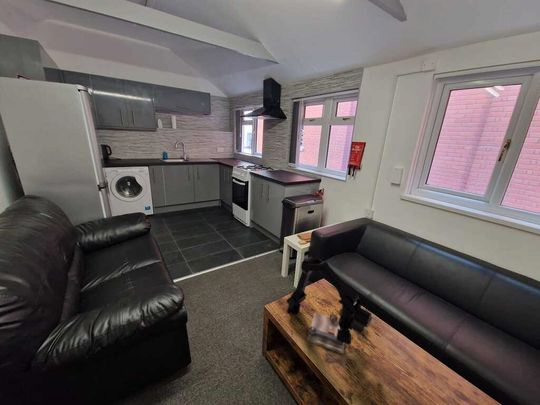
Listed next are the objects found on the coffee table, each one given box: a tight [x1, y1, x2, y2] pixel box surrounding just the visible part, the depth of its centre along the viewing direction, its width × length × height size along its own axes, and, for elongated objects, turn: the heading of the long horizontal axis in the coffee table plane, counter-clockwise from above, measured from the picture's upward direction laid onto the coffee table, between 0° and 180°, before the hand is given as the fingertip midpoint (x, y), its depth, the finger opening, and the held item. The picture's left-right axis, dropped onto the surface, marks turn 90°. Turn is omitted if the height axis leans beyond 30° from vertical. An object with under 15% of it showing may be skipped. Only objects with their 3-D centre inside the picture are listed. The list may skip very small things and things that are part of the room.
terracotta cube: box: [328, 329, 335, 336], centre depth 116 cm, size 3×2×2 cm, turn 68°
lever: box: [308, 326, 345, 345], centre depth 113 cm, size 18×4×8 cm, turn 68°
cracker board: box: [307, 312, 345, 355], centre depth 119 cm, size 18×19×5 cm
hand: (342, 337), depth 110 cm, fingers closed on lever, 3 cm apart
